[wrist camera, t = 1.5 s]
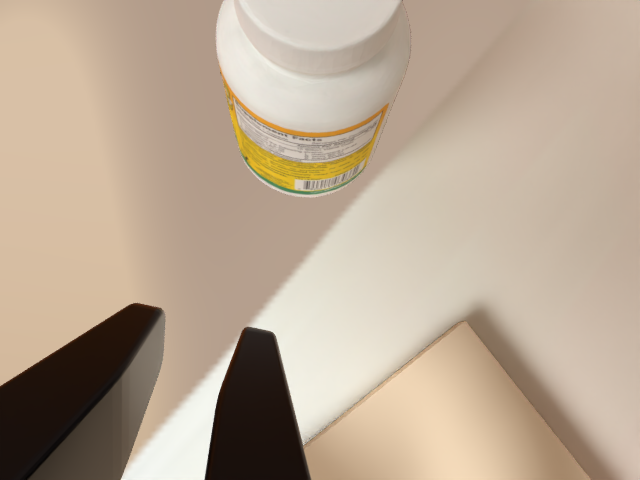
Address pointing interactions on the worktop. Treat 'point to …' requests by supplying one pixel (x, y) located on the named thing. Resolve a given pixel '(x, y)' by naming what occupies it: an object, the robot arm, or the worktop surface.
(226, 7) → the supplement bottle
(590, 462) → the worktop surface
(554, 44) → the worktop surface
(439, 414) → the beige rectangular board
